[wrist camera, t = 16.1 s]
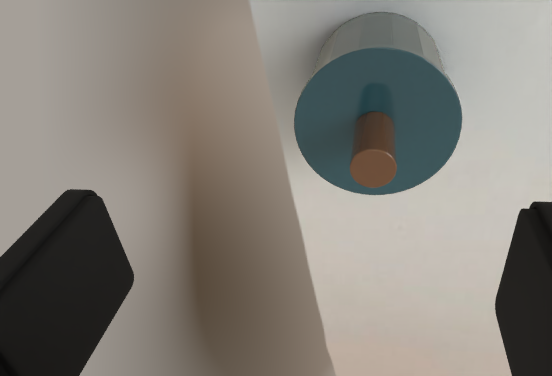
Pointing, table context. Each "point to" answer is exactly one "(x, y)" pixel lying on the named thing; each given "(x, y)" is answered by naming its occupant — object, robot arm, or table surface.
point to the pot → (379, 36)
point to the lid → (378, 119)
